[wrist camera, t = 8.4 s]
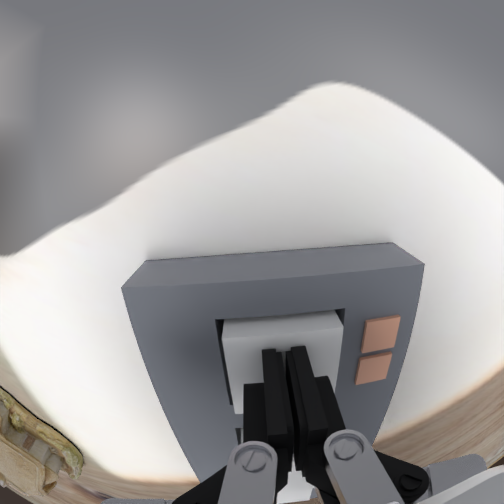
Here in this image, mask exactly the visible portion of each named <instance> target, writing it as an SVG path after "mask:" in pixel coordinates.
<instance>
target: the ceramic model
mask: <svg viewBox="0 0 504 504" xmlns="http://www.w3.org/2000/svg"><path fill="white" fill-rule="evenodd" d="M82 467H83V457H82V455H81V453H79V451H78V450H77V449H76V447H74V445H72V443H70V442H69V441H68V440H67V439H65V438H64V437H63V436H62V435H61V434H59V433H58V432H57V431H55V430H54V429H52V428H51V427H50V426H48V425H46V424H45V423H43V422H42V421H40V420H38V419H37V418H36V417H34V416H33V415H32V414H31V413H30V412H28V411H27V410H26V409H24V408H23V407H22V406H21V405H20V404H19V403H18V402H16V401H15V400H14V399H13V398H12V397H11V396H10V395H9V394H8V393H6V392H5V391H4V390H2V389H1V388H0V485H1V486H3V487H5V486H6V485H7V484H9V486H10V487H12V488H13V489H14V490H16V491H17V492H19V493H21V494H23V495H25V496H27V497H28V496H33V495H39V496H45V495H48V494H49V492H50V491H51V490H52V489H53V488H54V487H55V485H56V484H57V482H56V481H57V480H58V479H59V476H58V472H59V470H62V471H64V472H67V473H68V474H69V477H70V478H72V479H78V478H79V475H81V472H82V469H81V468H82Z"/></svg>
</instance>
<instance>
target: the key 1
mask: <svg viewBox="0 0 504 504" xmlns="http://www.w3.org/2000/svg"><path fill="white" fill-rule="evenodd" d="M343 328H344V327H343V325H342V323H341V321H340V319H339V317H338V316H337V314H336V312H335V310H326V311H317V312H307V313H297V314H287V315H275V316H262V317H248V318H232V319H224V325H223V333H222V342H223V349H224V355H225V361H226V367H227V372H228V378H229V384H230V389H231V395H232V400H233V405H234V411H235V414H243V386H244V384H249V383H264V379H263V364H262V349H276V352H282V357H283V363H284V369H285V375H286V351H291V347H296V346H306V349H307V353H308V356H309V360H310V363H311V367H312V370H313V374H314V377H320V376H328V377H329V379H330V382H331V385H332V388H333V391H334V393H335V387H336V381H337V374H338V368H339V361H340V353H341V345H342V337H343Z"/></svg>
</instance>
